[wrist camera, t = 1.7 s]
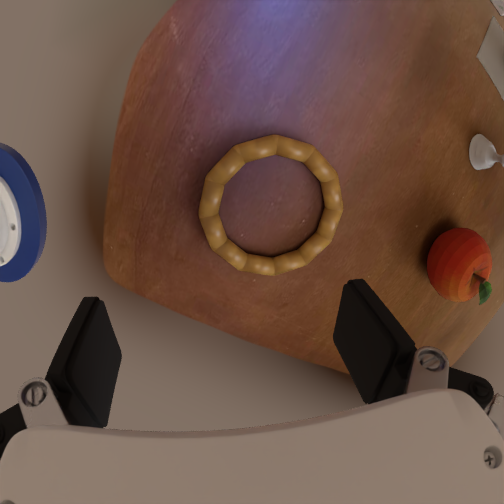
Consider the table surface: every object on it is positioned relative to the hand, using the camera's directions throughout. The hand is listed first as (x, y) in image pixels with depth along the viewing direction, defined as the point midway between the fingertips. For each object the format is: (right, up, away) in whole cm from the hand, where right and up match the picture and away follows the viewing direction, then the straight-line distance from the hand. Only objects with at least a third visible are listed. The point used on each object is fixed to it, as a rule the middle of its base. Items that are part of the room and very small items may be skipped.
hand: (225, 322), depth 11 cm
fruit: (+27, +3, +23) cm, 36 cm away
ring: (+3, +7, +16) cm, 18 cm away
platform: (+41, +29, +12) cm, 52 cm away
